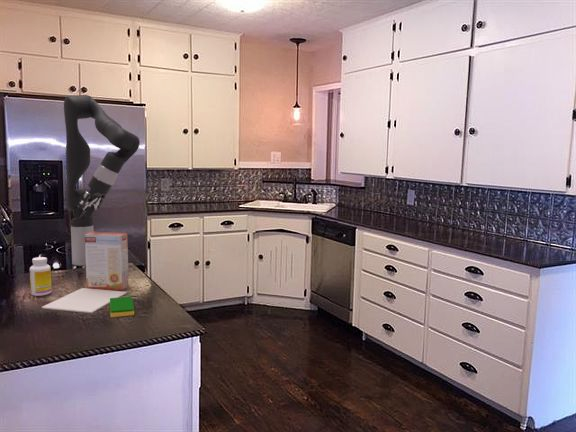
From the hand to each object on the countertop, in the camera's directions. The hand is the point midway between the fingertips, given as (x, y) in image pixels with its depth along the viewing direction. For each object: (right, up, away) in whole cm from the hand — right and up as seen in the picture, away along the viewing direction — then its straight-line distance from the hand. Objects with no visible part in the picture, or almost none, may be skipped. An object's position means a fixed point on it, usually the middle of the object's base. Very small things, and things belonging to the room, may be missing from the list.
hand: (81, 217), depth 178 cm
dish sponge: (+22, -31, -20) cm, 42 cm away
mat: (+7, -29, -12) cm, 32 cm away
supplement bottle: (-12, -27, -6) cm, 30 cm away
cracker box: (+9, -27, +3) cm, 28 cm away
